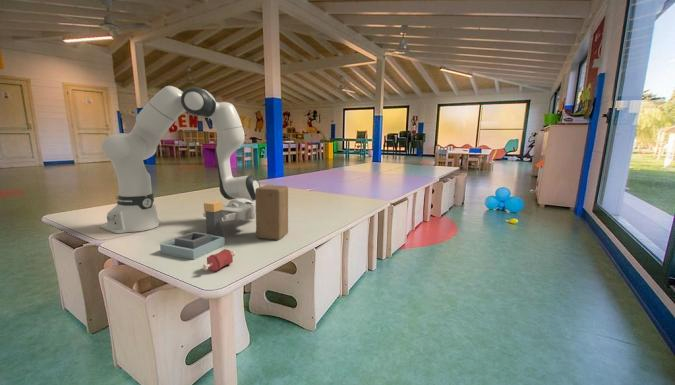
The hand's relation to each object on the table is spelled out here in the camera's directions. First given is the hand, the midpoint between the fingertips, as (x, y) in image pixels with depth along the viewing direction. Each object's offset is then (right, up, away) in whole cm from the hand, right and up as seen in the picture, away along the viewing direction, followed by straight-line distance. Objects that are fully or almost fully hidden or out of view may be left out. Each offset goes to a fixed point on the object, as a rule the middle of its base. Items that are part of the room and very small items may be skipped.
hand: (214, 216), depth 108 cm
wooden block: (+21, -8, +5) cm, 23 cm away
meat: (+12, -13, -24) cm, 30 cm away
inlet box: (-2, -10, -11) cm, 15 cm away
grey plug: (0, -8, +1) cm, 9 cm away
